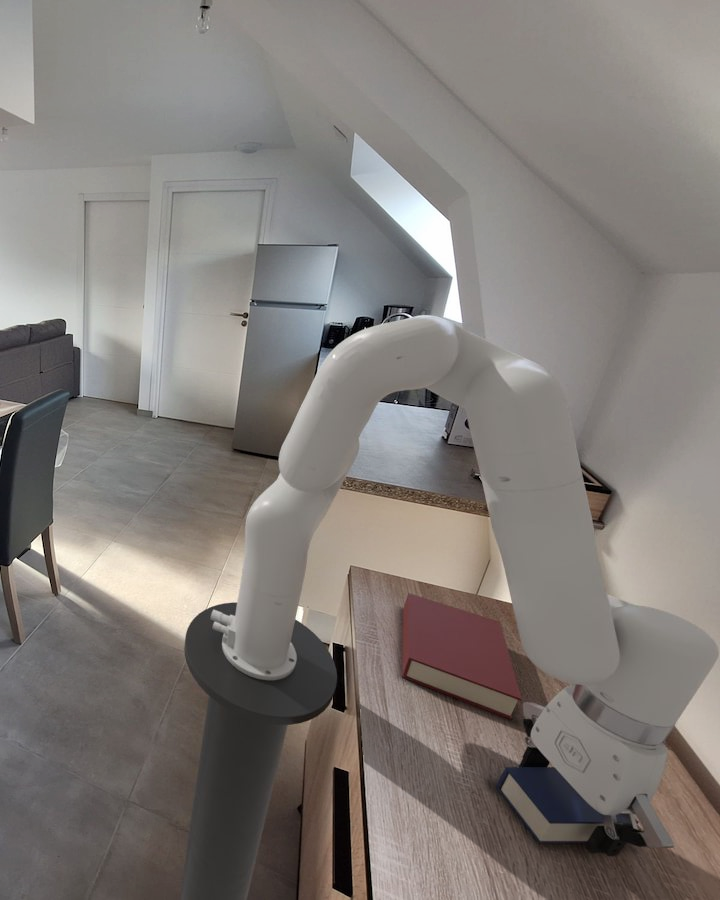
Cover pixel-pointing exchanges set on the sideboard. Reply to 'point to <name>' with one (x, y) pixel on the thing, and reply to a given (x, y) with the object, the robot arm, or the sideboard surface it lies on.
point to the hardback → (458, 655)
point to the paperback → (549, 805)
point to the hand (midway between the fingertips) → (562, 807)
